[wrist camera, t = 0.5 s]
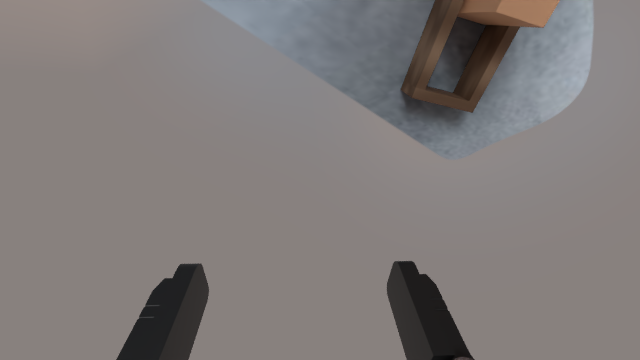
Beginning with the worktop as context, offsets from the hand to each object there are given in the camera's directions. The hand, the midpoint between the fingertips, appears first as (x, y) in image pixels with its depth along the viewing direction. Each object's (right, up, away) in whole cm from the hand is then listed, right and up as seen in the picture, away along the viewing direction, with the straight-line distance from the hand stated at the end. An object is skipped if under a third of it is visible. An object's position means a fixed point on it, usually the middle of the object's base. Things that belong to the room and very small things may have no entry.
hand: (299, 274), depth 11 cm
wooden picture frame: (+18, +22, +20) cm, 34 cm away
